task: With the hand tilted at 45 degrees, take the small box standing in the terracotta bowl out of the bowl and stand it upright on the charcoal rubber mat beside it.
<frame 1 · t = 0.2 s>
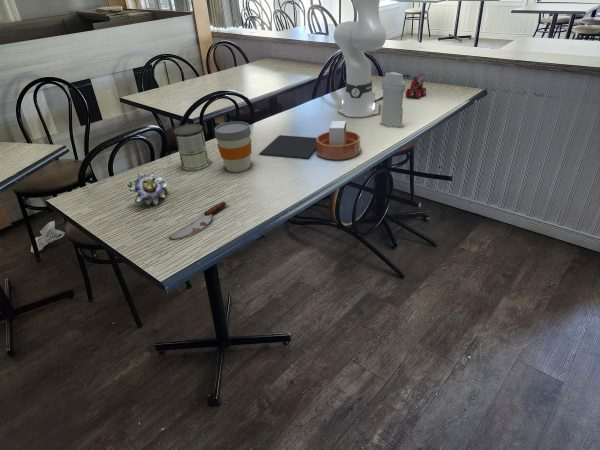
small box: (338, 151, 159), resting on bowl
kitchen knife: (203, 223, 121), on the table
mat: (293, 147, 166), on the table
tall pale column: (391, 125, 180), on the table
reusable coffee cup: (238, 167, 154), on the table
passion flower: (151, 200, 136), on the table
bowl: (338, 151, 159), on the table
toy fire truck: (415, 96, 214), on the table
coffee can: (196, 165, 158), on the table
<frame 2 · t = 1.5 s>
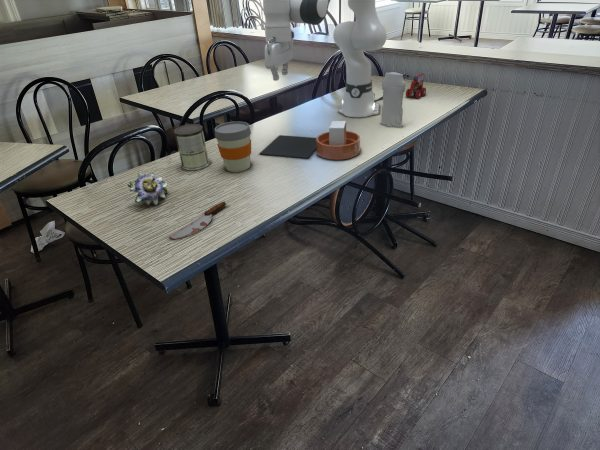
hand: (280, 77, 151), 27 cm above the table, tool pointing down, fingers open, 8 cm apart
nothing on the table moved.
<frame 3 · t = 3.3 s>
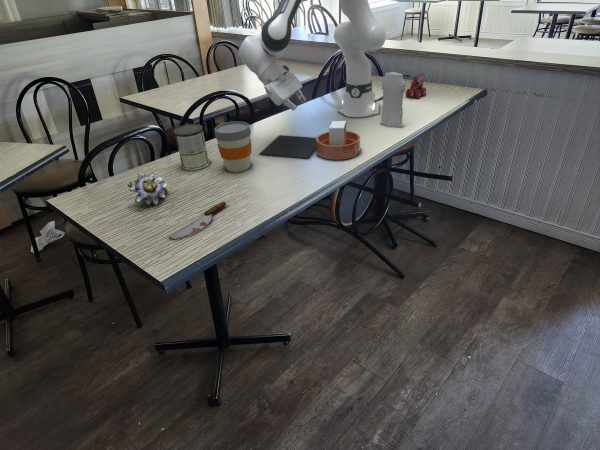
hand: (299, 105, 155), 17 cm above the table, tool tilted 45°, fingers open, 8 cm apart
nothing on the table moved.
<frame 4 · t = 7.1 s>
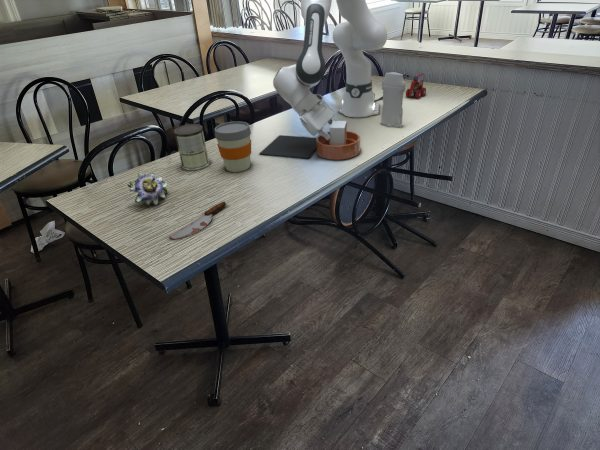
hand: (333, 134, 156), 7 cm above the table, tool tilted 45°, fingers closed on small box, 8 cm apart
small box: (338, 151, 159), resting on bowl, touching gripper
everything else where it was.
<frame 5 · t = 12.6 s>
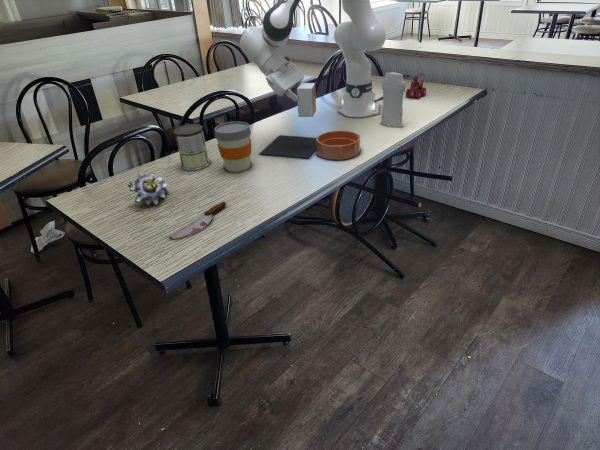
hand: (301, 96, 153), 20 cm above the table, tool tilted 45°, fingers closed on small box, 8 cm apart
small box: (307, 114, 157), point 14 cm above the table, touching gripper
everything else where it was.
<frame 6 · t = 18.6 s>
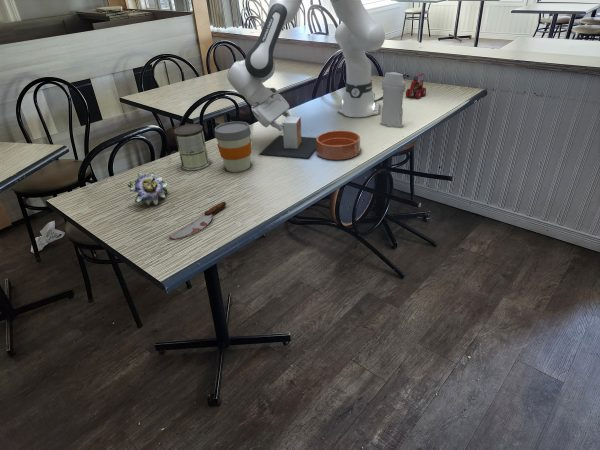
hand: (287, 125, 162), 9 cm above the table, tool tilted 45°, fingers closed on small box, 8 cm apart
small box: (293, 145, 166), resting on mat, touching gripper
everything else where it was.
when the fingers open (9 cm above the table, at t = 18.6 s): small box stays where it is, resting on mat.
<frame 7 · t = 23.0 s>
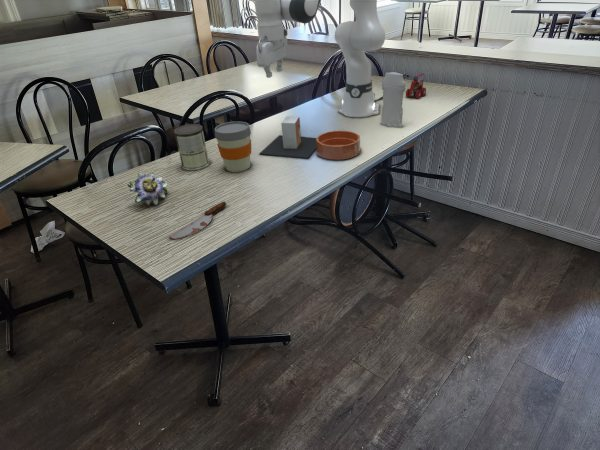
hand: (274, 74, 157), 27 cm above the table, tool pointing down, fingers open, 8 cm apart
small box: (292, 145, 166), resting on mat
everything else where it was.
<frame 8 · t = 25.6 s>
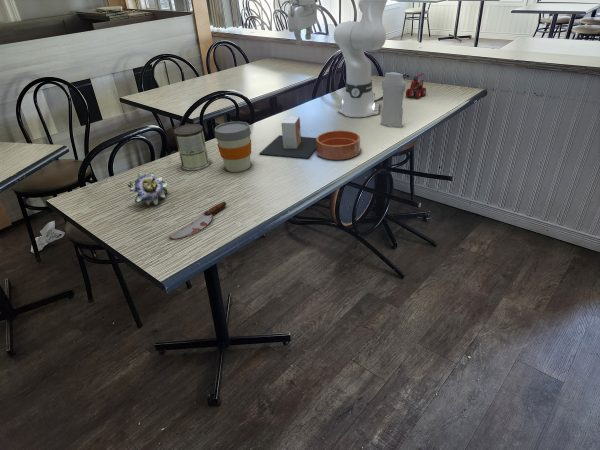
hand: (303, 41, 154), 37 cm above the table, tool pointing down, fingers open, 8 cm apart
nothing on the table moved.
at the end: small box inside the target area on the mat (0.3 cm from its centre), point 0.4 cm above the mat's base; small box tilted 0°; the gripper is holding nothing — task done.
